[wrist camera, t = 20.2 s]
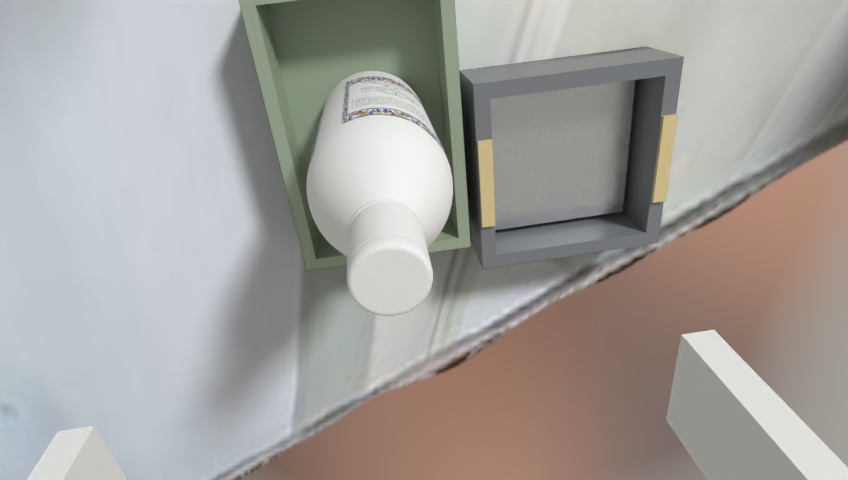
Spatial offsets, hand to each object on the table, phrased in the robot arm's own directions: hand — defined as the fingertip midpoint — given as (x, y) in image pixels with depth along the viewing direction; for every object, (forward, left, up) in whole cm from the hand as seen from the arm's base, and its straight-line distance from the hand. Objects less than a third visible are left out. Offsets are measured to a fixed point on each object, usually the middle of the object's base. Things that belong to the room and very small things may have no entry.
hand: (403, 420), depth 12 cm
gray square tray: (-13, +4, -27) cm, 30 cm away
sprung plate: (-13, +4, -26) cm, 29 cm away
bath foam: (0, 0, -26) cm, 26 cm away
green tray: (0, 0, -27) cm, 27 cm away
